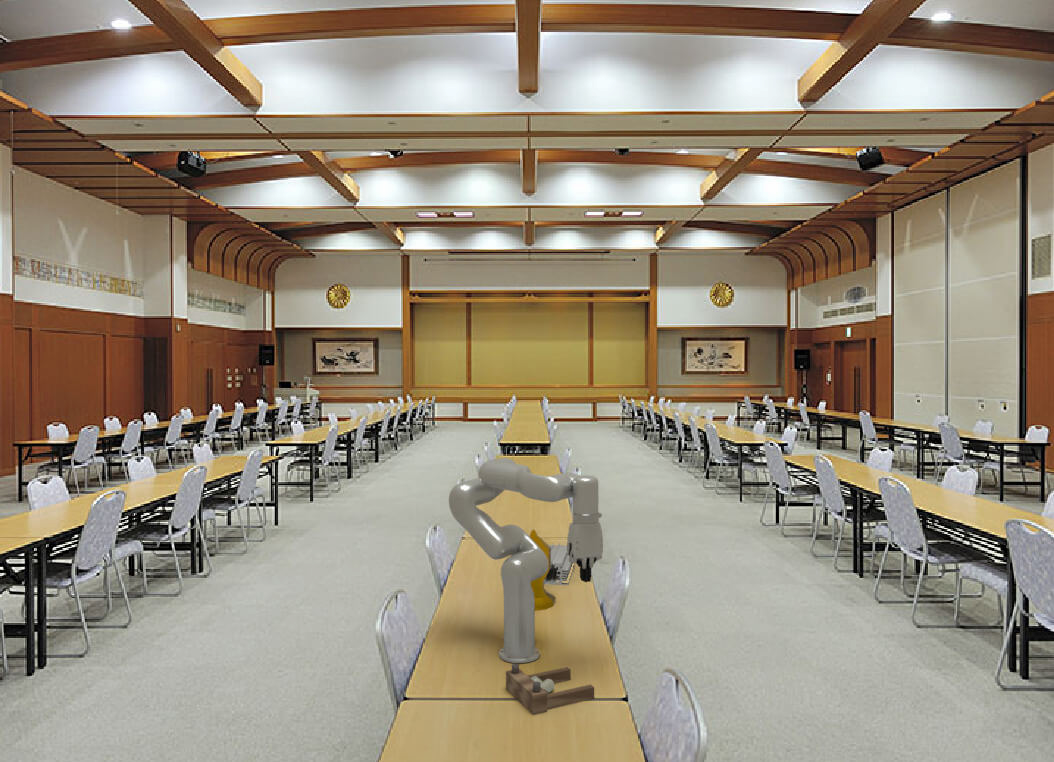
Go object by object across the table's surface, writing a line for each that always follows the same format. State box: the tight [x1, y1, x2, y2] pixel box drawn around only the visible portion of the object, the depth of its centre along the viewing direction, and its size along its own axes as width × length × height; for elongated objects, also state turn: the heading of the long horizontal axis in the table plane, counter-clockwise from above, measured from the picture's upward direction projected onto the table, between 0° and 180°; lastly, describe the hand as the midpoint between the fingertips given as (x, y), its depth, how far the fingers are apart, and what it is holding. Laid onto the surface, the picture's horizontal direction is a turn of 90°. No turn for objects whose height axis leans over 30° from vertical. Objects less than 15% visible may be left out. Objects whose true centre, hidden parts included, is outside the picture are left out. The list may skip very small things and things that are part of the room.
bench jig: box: [505, 663, 595, 716], centre depth 202 cm, size 17×19×7 cm
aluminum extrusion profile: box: [544, 543, 575, 586], centre depth 319 cm, size 14×31×10 cm, turn 171°
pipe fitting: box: [531, 676, 555, 694], centre depth 202 cm, size 8×4×7 cm
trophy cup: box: [529, 529, 557, 612], centre depth 279 cm, size 18×24×28 cm
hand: (585, 580), depth 216 cm, fingers closed
